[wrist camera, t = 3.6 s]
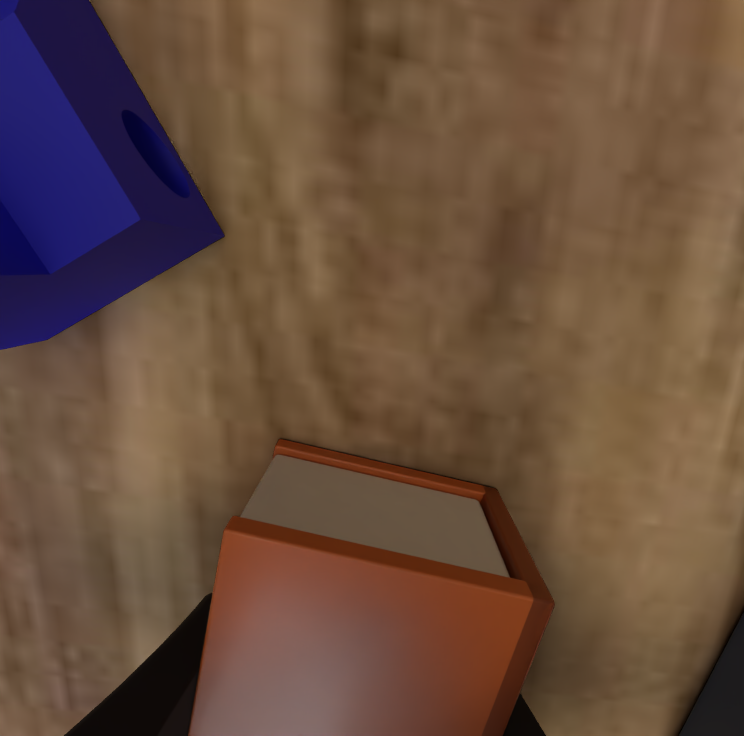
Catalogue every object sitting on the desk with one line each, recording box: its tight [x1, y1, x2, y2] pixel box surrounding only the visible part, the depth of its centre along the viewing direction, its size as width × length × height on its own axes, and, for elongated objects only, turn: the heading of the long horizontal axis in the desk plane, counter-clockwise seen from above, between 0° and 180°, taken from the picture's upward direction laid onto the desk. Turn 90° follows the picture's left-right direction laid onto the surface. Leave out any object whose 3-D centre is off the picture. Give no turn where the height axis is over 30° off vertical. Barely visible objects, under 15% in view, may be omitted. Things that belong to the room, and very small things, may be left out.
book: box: [188, 439, 555, 736], centre depth 9 cm, size 8×5×3 cm, turn 167°
